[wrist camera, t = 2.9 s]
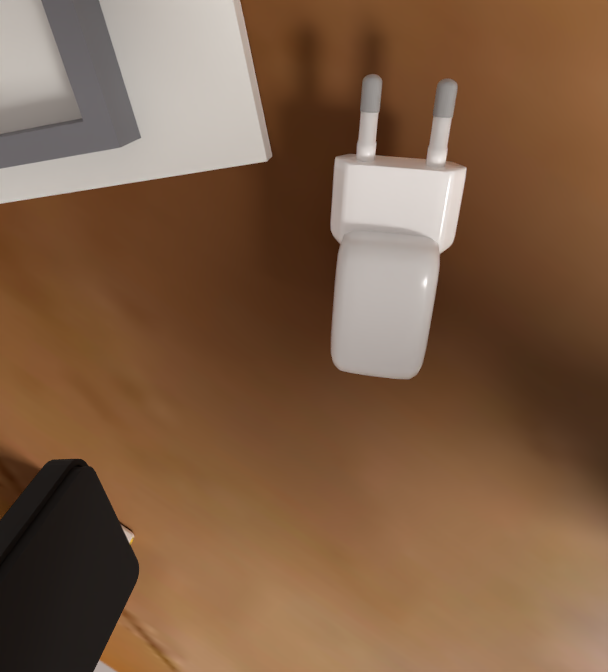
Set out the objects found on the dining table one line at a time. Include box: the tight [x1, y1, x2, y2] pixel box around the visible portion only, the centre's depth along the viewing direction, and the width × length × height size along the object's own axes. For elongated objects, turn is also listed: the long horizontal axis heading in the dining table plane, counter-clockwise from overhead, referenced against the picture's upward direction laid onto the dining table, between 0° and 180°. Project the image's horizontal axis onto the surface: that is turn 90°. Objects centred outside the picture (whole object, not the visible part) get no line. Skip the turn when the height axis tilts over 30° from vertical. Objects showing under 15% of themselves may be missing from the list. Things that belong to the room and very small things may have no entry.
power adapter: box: [330, 74, 467, 379], centre depth 23 cm, size 11×5×6 cm, turn 178°
